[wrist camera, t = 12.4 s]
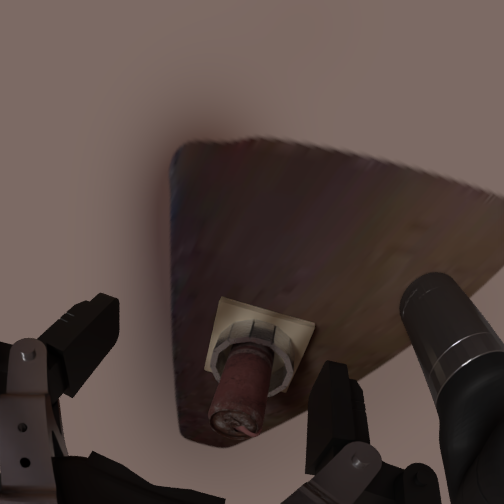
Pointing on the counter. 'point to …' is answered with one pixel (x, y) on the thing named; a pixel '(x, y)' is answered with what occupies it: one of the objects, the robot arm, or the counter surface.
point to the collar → (260, 335)
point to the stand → (239, 311)
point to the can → (242, 392)
